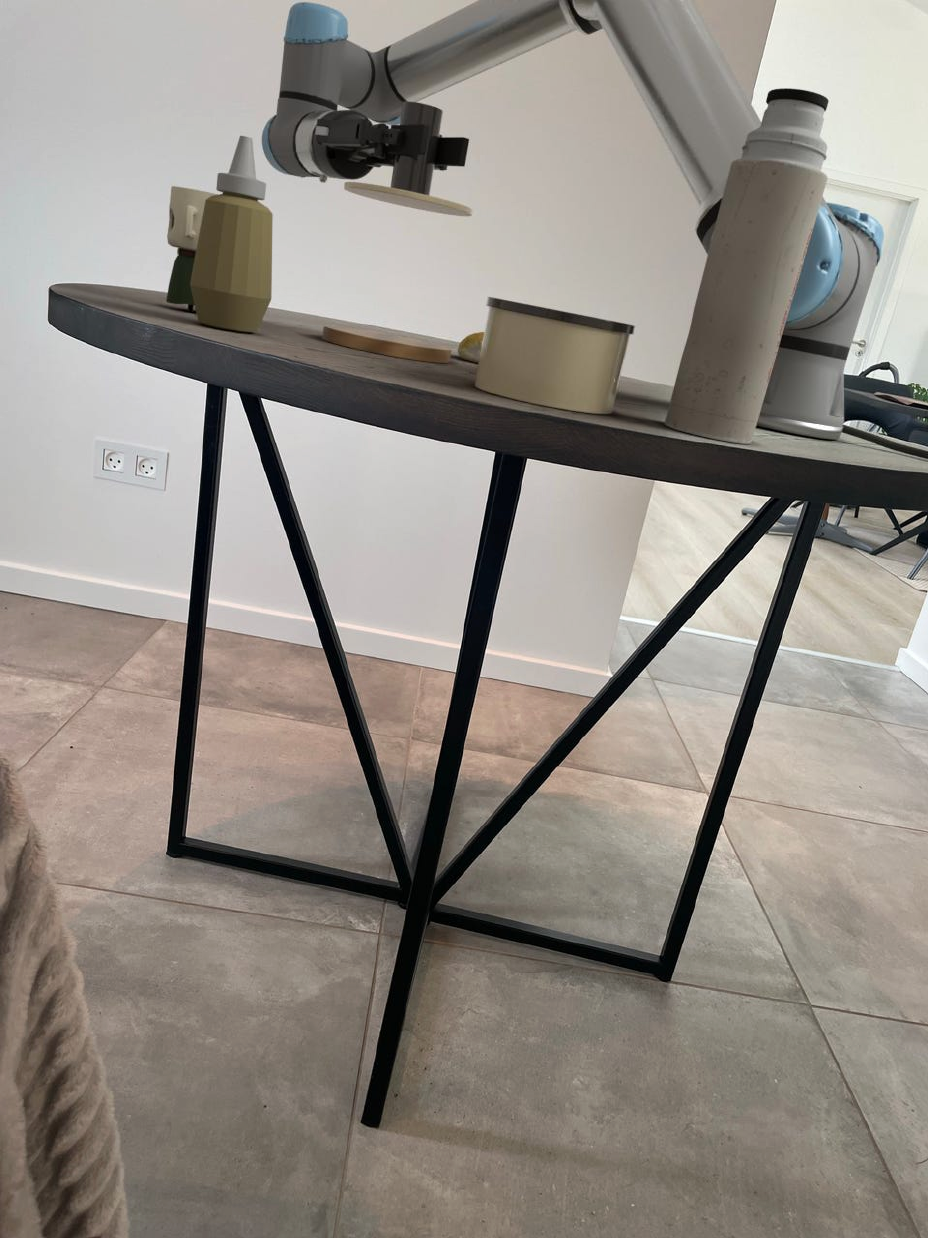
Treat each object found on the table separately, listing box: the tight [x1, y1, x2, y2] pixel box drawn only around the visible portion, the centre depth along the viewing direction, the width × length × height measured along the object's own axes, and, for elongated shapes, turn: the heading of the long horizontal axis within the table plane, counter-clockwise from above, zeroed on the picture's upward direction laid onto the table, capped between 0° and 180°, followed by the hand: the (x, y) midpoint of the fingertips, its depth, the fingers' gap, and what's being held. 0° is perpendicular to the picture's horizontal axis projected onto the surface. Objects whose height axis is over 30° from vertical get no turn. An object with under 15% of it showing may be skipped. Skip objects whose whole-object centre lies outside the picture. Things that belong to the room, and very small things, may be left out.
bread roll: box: [457, 331, 484, 364], centre depth 119 cm, size 8×9×4 cm
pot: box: [474, 296, 637, 415], centre depth 86 cm, size 14×14×8 cm
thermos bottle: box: [664, 87, 829, 445], centre depth 80 cm, size 8×8×28 cm
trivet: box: [321, 324, 452, 364], centre depth 108 cm, size 15×15×2 cm
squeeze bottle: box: [190, 135, 274, 334], centre depth 93 cm, size 8×8×18 cm
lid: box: [343, 101, 473, 217], centre depth 102 cm, size 14×14×10 cm
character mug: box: [165, 185, 219, 313], centre depth 107 cm, size 11×7×13 cm, turn 178°
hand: (444, 145), depth 97 cm, fingers closed on lid, 4 cm apart
